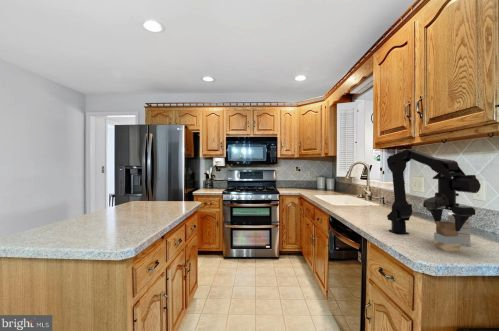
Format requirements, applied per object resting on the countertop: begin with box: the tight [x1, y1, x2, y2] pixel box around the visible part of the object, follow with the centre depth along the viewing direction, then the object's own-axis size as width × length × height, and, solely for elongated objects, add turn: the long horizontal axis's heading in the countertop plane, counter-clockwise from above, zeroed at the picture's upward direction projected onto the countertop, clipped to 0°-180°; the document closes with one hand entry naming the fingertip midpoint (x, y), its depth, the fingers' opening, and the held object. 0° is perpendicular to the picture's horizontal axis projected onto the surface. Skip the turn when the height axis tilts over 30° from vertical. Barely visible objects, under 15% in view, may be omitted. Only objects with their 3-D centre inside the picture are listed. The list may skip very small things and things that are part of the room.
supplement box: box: [447, 212, 472, 247], centre depth 106 cm, size 7×7×13 cm
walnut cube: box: [435, 220, 458, 237], centre depth 99 cm, size 5×5×5 cm
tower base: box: [433, 239, 462, 252], centre depth 99 cm, size 6×6×3 cm
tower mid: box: [433, 232, 461, 244], centre depth 99 cm, size 6×6×3 cm
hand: (447, 228), depth 99 cm, fingers open, 9 cm apart
